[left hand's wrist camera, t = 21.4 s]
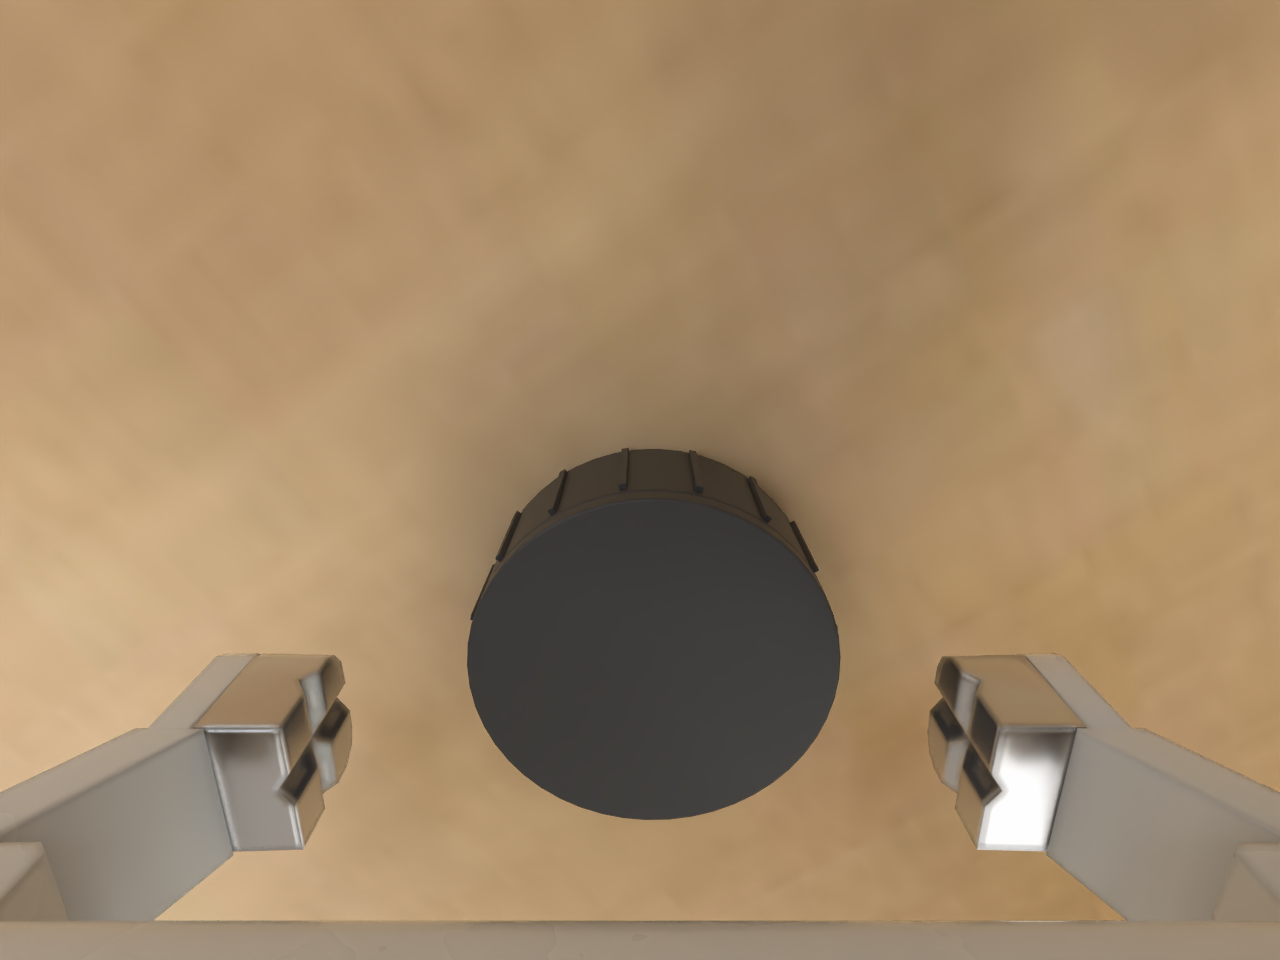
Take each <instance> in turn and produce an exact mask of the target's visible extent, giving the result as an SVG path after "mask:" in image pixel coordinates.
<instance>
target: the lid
mask: <svg viewBox="0 0 1280 960" xmlns="http://www.w3.org/2000/svg"><path fill="white" fill-rule="evenodd" d="M496 560H497V561H496V564H495V565H493V566H492V568H491V570H490V573H489V575H488V577H487V579H486V582H485V584H484V586H483V589H482V591H481V593H480V596H479V598H478V600H477V603H476V605H475V607H474V609H473V612H472V614H471V620H473V621H472V624H471V630H470V635H469V641H468V656H467V668H468V676H469V684H470V689H471V692H472V696H473V700H474V703H475V707H476V709H477V711H478V714H479V716H480V718H481V720H482V723H483V725H484V727H485V729H486V730H487V732H488V733H489V735H490V737H491V738H492V740H493V741H494V743H495V745H496V746H497V747H498V748H499V749H500V751H501V752H502V753H503V754H504V756H505V757H506V758H507V759H508V760H509V761H510V762H511V763H512V764H513V765H514V766H515V767H516V768H517V769H518V770H519V771H520V772H521V773H522V774H523V775H525V776H526V777H527V778H529V779H530V780H531V781H533V782H534V783H536V784H537V785H538V786H540V787H541V788H543V789H544V790H546V791H548V792H550V793H551V794H553V795H555V796H557V797H558V798H560V799H563V800H565V801H567V802H570V803H572V804H574V805H577V806H579V807H581V808H585V809H588V810H591V811H595V812H598V813H601V814H606V815H611V816H616V817H622V818H631V819H643V820H662V819H676V818H684V817H691V816H696V815H700V814H704V813H709V812H713V811H716V810H719V809H721V808H724V807H727V806H730V805H733V804H735V803H737V802H739V801H741V800H744V799H746V798H748V797H750V796H752V795H754V794H756V793H757V792H759V791H760V790H762V789H764V788H765V787H767V786H768V785H770V784H771V783H773V782H774V781H775V780H777V779H778V778H779V777H780V776H782V775H783V774H784V773H785V772H787V771H788V770H789V769H790V768H791V767H792V766H793V765H794V764H795V763H796V762H797V761H798V760H799V759H800V758H801V757H802V756H803V755H804V753H805V752H806V751H807V749H808V748H809V747H810V745H811V744H812V743H813V741H814V740H815V739H816V737H817V735H818V734H819V732H820V730H821V728H822V726H823V725H824V723H825V721H826V719H827V717H828V714H829V711H830V709H831V706H832V704H833V701H834V698H835V693H836V689H837V684H838V680H839V670H840V647H839V635H838V629H837V625H836V623H835V619H834V615H833V612H832V610H831V607H830V605H829V603H828V600H827V598H826V595H825V593H824V591H823V589H822V587H821V585H820V583H819V581H818V579H817V576H816V574H815V572H817V571H819V569H818V567H817V565H816V563H815V561H814V559H813V557H812V555H811V553H810V551H809V549H808V547H807V545H806V543H805V541H804V539H803V537H802V535H801V533H800V531H799V529H798V527H797V525H796V523H795V521H792V522H789V521H788V519H787V517H786V516H785V514H784V513H783V512H782V511H781V509H780V508H779V507H778V506H777V504H776V503H775V502H774V501H773V499H772V498H770V497H769V496H768V495H767V494H766V493H765V492H764V491H763V490H762V489H761V488H760V487H759V486H758V484H757V482H756V480H755V479H754V478H753V477H752V476H750V477H749V478H746V477H745V476H743V475H742V474H741V473H739V472H737V471H735V470H733V469H731V468H729V467H727V466H725V465H723V464H721V463H719V462H716V461H713V460H710V459H708V458H705V457H702V456H698V455H696V452H695V451H691V450H690V451H689V453H685V452H681V451H671V450H661V449H652V450H633V451H629V449H628V448H625V449H622V452H620V453H614V454H611V455H607V456H604V457H600V458H597V459H594V460H591V461H589V462H587V463H584V464H582V465H580V466H577V467H575V468H573V469H572V470H570V471H568V472H567V471H566V470H563V471H561V472H560V474H559V477H558V478H557V479H555V480H554V481H553V482H551V483H550V484H549V485H548V486H546V487H545V488H544V489H543V490H541V491H540V492H539V493H538V494H537V495H536V496H535V497H534V499H533V500H532V501H531V502H530V503H529V504H528V505H527V506H526V507H525V509H524V510H523V511H522V513H520V512H518V511H517V512H516V513H515V515H514V517H513V519H512V522H511V524H510V526H509V529H508V531H507V533H506V536H505V538H504V540H503V542H502V545H501V547H500V549H499V552H498V554H497V556H496Z"/></svg>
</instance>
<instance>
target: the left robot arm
mask: <svg viewBox="0 0 1280 960" xmlns="http://www.w3.org/2000/svg"><path fill="white" fill-rule="evenodd" d="M344 684H345V678H344V673H343V668H342V663H341V661H340V660H339V659H338V658H337V657H336V656H335V655H296V654H262V655H261V654H258V653H254V654H224V655H220V656H217V657H216V658H215V659H214V660H213V661H212V662H211V663H210V664H209V665H208V666H207V667H206V668H205V669H204V670H203V671H202V672H201V673H200V674H199V675H198V676H197V677H196V678H195V680H194V681H193V682H192V683H191V684H190V685H189V686H188V687H187V688H186V689H185V690H184V691H183V692H182V693H181V694H180V695H179V696H178V697H177V698H176V699H175V700H174V702H173V703H172V704H171V705H170V706H169V707H168V708H167V709H166V710H165V711H164V712H163V713H162V714H161V715H160V716H159V717H158V718H157V719H156V720H155V721H154V723H153V724H152V725H151V726H150V727H149V728H148V729H133V730H131V731H129V732H127V733H125V734H123V735H121V736H119V737H117V738H114V739H112V740H110V741H108V742H106V743H104V744H102V745H100V746H98V747H95V748H93V749H91V750H89V751H87V752H85V753H83V754H81V755H79V756H76V757H74V758H72V759H70V760H68V761H66V762H64V763H62V764H60V765H57V766H55V767H53V768H51V769H49V770H47V771H45V772H43V773H41V774H38V775H36V776H34V777H32V778H30V779H28V780H26V781H24V782H22V783H19V784H17V785H15V786H13V787H11V788H9V789H7V790H5V791H3V792H0V960H1280V793H1279V792H1277V791H1275V790H1273V789H1271V788H1269V787H1267V786H1264V785H1262V784H1260V783H1258V782H1256V781H1254V780H1252V779H1250V778H1248V777H1245V776H1243V775H1241V774H1239V773H1237V772H1235V771H1233V770H1231V769H1229V768H1227V767H1224V766H1222V765H1220V764H1218V763H1216V762H1214V761H1212V760H1210V759H1208V758H1205V757H1203V756H1201V755H1199V754H1197V753H1195V752H1193V751H1191V750H1189V749H1187V748H1184V747H1182V746H1180V745H1178V744H1176V743H1174V742H1172V741H1170V740H1168V739H1165V738H1163V737H1161V736H1159V735H1157V734H1155V733H1153V732H1151V731H1149V730H1147V729H1132V728H1131V727H1130V726H1129V725H1128V724H1127V722H1126V721H1125V720H1124V719H1123V718H1122V717H1121V716H1120V715H1119V714H1118V713H1117V712H1116V711H1115V710H1114V709H1113V708H1112V707H1111V706H1110V705H1109V704H1108V703H1107V701H1106V700H1105V699H1104V698H1103V697H1102V696H1101V695H1100V694H1099V693H1098V692H1097V691H1096V690H1095V689H1094V688H1093V687H1092V686H1091V685H1090V684H1089V683H1088V682H1087V680H1086V679H1085V678H1084V677H1083V676H1082V675H1081V674H1080V673H1079V672H1078V671H1077V670H1076V669H1075V668H1074V667H1073V666H1072V665H1071V664H1070V663H1069V662H1068V661H1067V659H1066V658H1065V657H1063V656H1060V655H1058V654H1055V653H1043V654H1017V655H988V656H942V658H941V660H940V662H939V665H938V667H937V672H936V678H935V684H936V686H937V688H938V689H939V691H940V693H941V694H942V696H943V698H942V699H941V700H940V701H939V702H938V703H937V704H936V705H935V706H934V707H933V708H932V709H931V710H930V716H929V724H928V741H929V752H930V756H931V759H932V762H933V765H934V768H935V770H936V772H937V774H938V776H939V778H940V780H941V782H942V783H943V784H945V785H946V786H947V787H949V788H950V789H952V790H953V791H955V792H956V793H958V794H957V800H956V806H955V809H956V811H957V813H958V815H959V817H960V819H961V820H962V822H963V824H964V826H965V828H966V830H967V832H968V833H969V835H970V837H971V839H972V841H973V843H974V845H975V847H976V848H977V850H1012V851H1047V854H1046V855H1047V856H1049V857H1050V858H1051V859H1052V860H1054V861H1055V862H1056V863H1057V864H1058V865H1060V866H1061V867H1062V868H1063V869H1065V870H1066V871H1067V872H1068V873H1069V874H1071V875H1072V876H1073V877H1074V878H1076V879H1077V880H1078V881H1079V882H1081V883H1082V884H1083V885H1084V886H1085V887H1087V888H1088V889H1089V890H1090V891H1092V892H1093V893H1094V894H1095V895H1096V896H1098V897H1099V898H1100V899H1101V900H1103V901H1104V902H1105V903H1106V904H1107V905H1109V906H1110V907H1111V908H1112V909H1114V910H1115V911H1116V912H1117V913H1119V914H1120V915H1121V916H1122V917H1123V918H1125V919H1126V920H1127V921H153V920H154V919H156V918H157V917H158V916H159V915H160V914H162V913H163V912H164V911H165V910H167V909H168V908H169V907H170V906H172V905H173V904H174V903H175V902H176V901H178V900H179V899H180V898H181V897H183V896H184V895H185V894H186V893H187V892H189V891H190V890H191V889H192V888H194V887H195V886H196V885H197V884H199V883H200V882H201V881H202V880H203V879H205V878H206V877H207V876H208V875H210V874H211V873H212V872H213V871H215V870H216V869H217V868H218V867H219V866H221V865H222V864H223V863H224V862H226V861H227V860H228V859H229V858H230V857H232V856H233V851H267V850H302V849H304V847H305V845H306V843H307V841H308V839H309V837H310V835H311V834H312V832H313V830H314V828H315V826H316V824H317V822H318V820H319V819H320V817H321V815H322V813H323V811H324V809H325V806H324V800H323V794H322V793H324V792H325V791H327V790H328V789H330V788H331V787H333V786H334V785H335V784H337V783H338V782H339V780H340V778H341V776H342V774H343V772H344V770H345V768H346V766H347V762H348V758H349V754H350V749H351V745H352V722H351V715H350V710H349V709H348V708H347V707H346V706H345V705H344V704H343V703H342V702H341V701H340V700H339V699H338V698H337V696H338V694H339V693H340V691H341V689H342V688H343V686H344Z"/></svg>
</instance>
